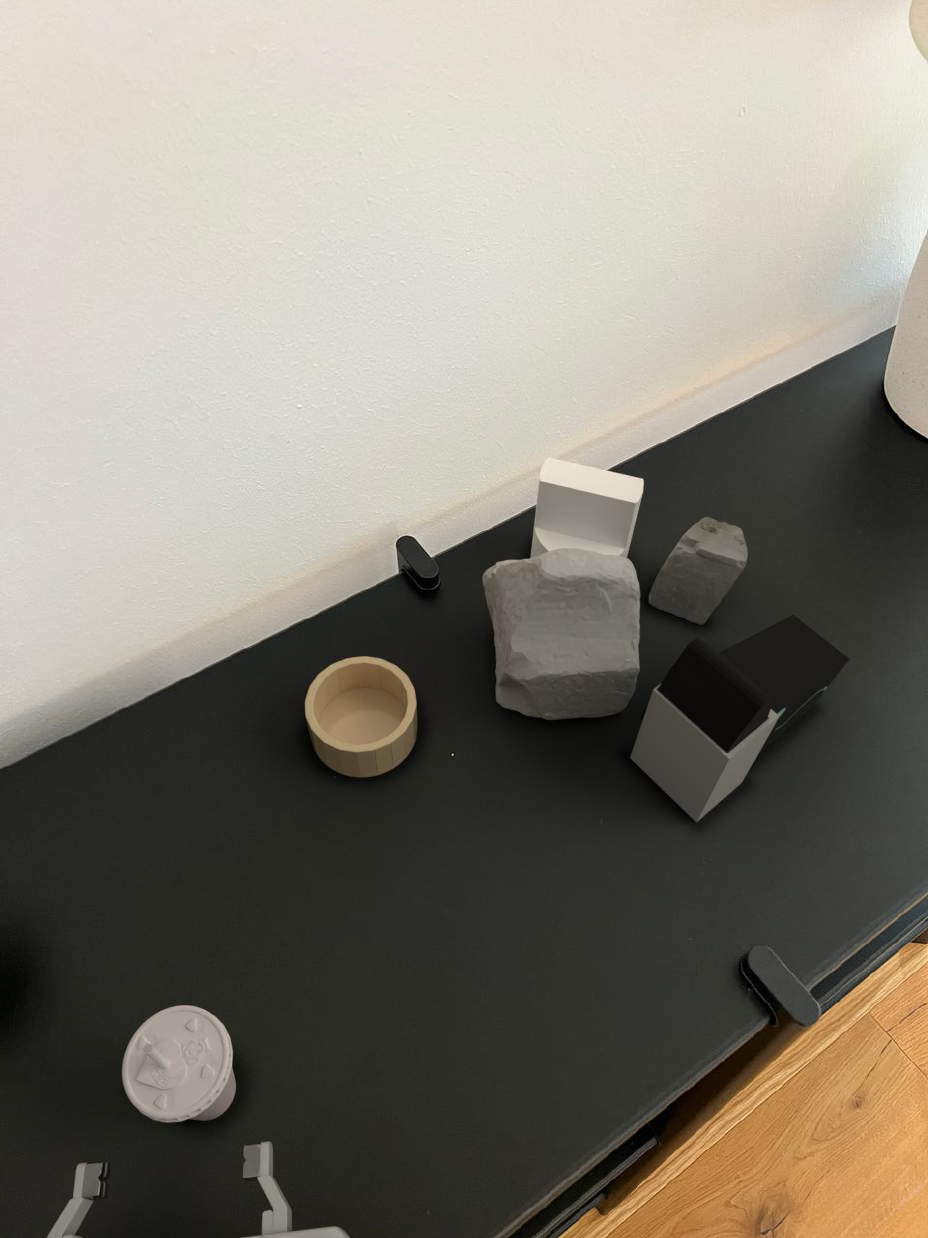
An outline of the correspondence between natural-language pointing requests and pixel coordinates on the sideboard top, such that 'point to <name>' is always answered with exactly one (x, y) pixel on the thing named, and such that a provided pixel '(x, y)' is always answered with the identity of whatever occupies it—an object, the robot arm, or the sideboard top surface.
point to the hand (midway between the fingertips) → (176, 1153)
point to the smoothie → (180, 1066)
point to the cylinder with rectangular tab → (585, 509)
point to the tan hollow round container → (362, 716)
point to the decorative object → (729, 709)
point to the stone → (565, 633)
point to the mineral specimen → (700, 570)
